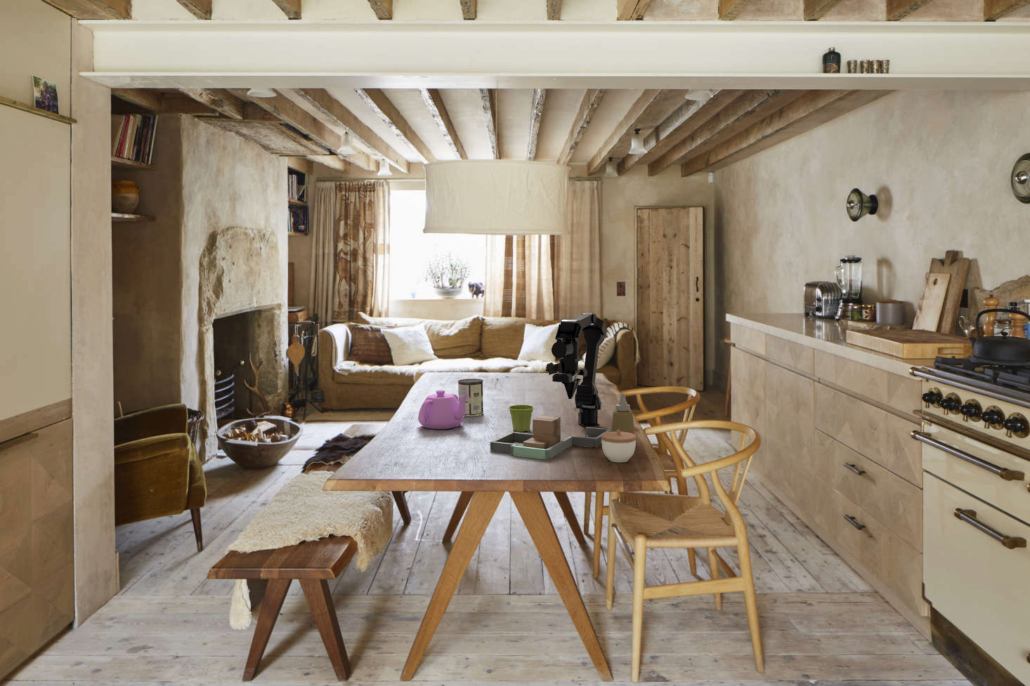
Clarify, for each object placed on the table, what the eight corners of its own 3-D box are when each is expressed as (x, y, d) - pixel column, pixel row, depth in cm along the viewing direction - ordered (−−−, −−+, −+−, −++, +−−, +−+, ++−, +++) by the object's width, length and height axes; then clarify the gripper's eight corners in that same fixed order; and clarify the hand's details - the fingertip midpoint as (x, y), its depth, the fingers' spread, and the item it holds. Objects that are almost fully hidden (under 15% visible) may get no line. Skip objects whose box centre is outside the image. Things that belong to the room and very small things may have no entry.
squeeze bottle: (636, 445, 234) (637, 392, 232) (632, 451, 226) (633, 396, 224) (612, 443, 236) (613, 391, 234) (607, 449, 229) (608, 395, 227)
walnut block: (541, 444, 236) (541, 415, 235) (560, 446, 233) (560, 417, 232) (523, 454, 224) (523, 423, 223) (543, 456, 221) (543, 425, 220)
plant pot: (531, 433, 252) (531, 409, 252) (506, 432, 254) (506, 409, 253) (536, 428, 262) (536, 405, 261) (511, 427, 263) (511, 404, 263)
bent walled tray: (534, 429, 258) (534, 421, 258) (612, 437, 245) (612, 429, 245) (487, 452, 226) (487, 443, 226) (573, 463, 213) (573, 453, 213)
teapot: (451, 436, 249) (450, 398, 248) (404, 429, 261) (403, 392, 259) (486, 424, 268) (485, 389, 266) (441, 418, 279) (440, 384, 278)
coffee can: (468, 410, 295) (467, 377, 294) (488, 413, 289) (488, 379, 288) (453, 415, 286) (452, 381, 285) (473, 417, 281) (473, 383, 279)
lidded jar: (597, 455, 221) (598, 426, 220) (631, 454, 222) (631, 425, 221) (605, 465, 211) (605, 434, 210) (639, 464, 211) (640, 433, 211)
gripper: (559, 351, 259) (559, 393, 261) (538, 357, 242) (538, 401, 244) (587, 352, 254) (587, 395, 256) (568, 358, 237) (568, 404, 239)
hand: (570, 398), depth 249 cm, fingers closed
